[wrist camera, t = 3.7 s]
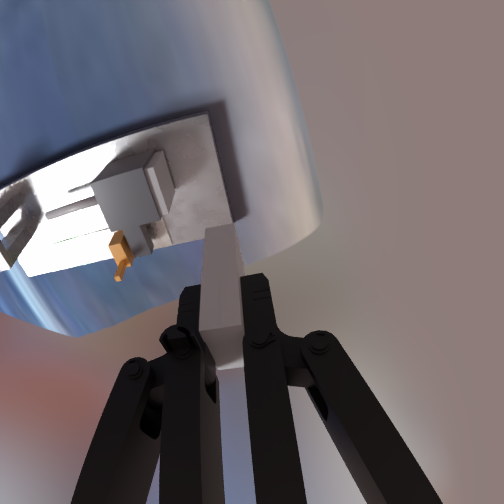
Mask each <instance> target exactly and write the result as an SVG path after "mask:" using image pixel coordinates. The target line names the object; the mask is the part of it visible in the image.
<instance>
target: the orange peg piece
mask: <svg viewBox="0 0 504 504" xmlns="http://www.w3.org/2000/svg"><path fill="white" fill-rule="evenodd" d="M108 248H109V250H110V252H111V254H112V256H113V258H114V259H115V261H116V263H117V265H118V268H117V271H116V273H115V276H114V278H115V280H116V281H122V278H123V275H124V272H125V269H126V267H129V266H131V265H132V262H133V259H134V255H133V253H132V251H131V249H130V247H129V244H128V242H127V240H126V238H125V236H124V234H123V231H122V230H121V231H117V232H114V234H113V236H112V238H111V240H110V243H109V245H108Z"/></svg>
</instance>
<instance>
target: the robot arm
mask: <svg viewBox="0 0 504 504" xmlns="http://www.w3.org/2000/svg"><path fill="white" fill-rule="evenodd" d="M159 341H160V342H161V344H162V345H163V347H164V349H165V350H166V352H167V353H166V354H165V355H163V356H161V357H159V358H156V359H154V360H151V361H149V362H147V360H146V359H144V358H141V357H135V358H132V359H129V360H128V361H127V362H126V363H125V364H124V365H123V366H122V368H121V370H120V372H119V374H118V377H117V379H116V382H115V384H114V386H113V389H112V391H111V393H110V396H109V398H108V401H107V403H106V406H105V408H104V411H103V413H102V416H101V418H100V421H99V423H98V426H97V429H96V431H95V434H94V437H93V439H92V442H91V445H90V447H89V450H88V453H87V456H86V458H85V461H84V464H83V467H82V470H81V473H80V476H79V479H78V482H77V485H76V489H75V491H74V495H73V498H72V501H71V504H146V500H147V496H148V493H149V490H150V486H151V483H152V479H153V476H154V472H155V469H156V465H157V462H158V458H159V455H160V475H159V504H225V495H224V480H223V465H222V447H221V428H220V401H219V381H218V378H217V376H216V368H215V364H216V366H217V368H218V370H222V369H229V368H237V367H244V371H245V372H244V373H245V384H246V396H247V408H248V420H249V431H250V441H251V453H252V463H253V473H254V483H255V494H256V503H257V504H307V501H306V494H305V488H304V482H303V476H302V469H301V463H300V457H299V451H298V445H297V440H296V433H295V428H294V422H293V415H292V409H291V404H290V398H289V392H288V387H287V385H289V386H297V387H305V389H306V391H307V393H308V395H309V397H310V399H311V401H312V402H313V404H314V406H315V408H316V410H317V412H318V414H319V416H320V418H321V419H322V421H323V423H324V425H325V427H326V429H327V431H328V433H329V434H330V436H331V438H332V440H333V442H334V444H335V445H336V447H337V449H338V451H339V453H340V455H341V457H342V459H343V460H344V462H345V464H346V466H347V468H348V470H349V471H350V473H351V475H352V477H353V479H354V481H355V482H356V484H357V486H358V488H359V489H360V492H361V493H362V495H363V497H364V499H365V501H366V502H367V504H443V503H442V502H441V500H440V498H439V496H438V495H437V493H436V491H435V490H434V488H433V487H432V485H431V483H430V482H429V480H428V478H427V477H426V475H425V474H424V472H423V471H422V469H421V467H420V466H419V464H418V462H417V461H416V459H415V458H414V456H413V454H412V453H411V451H410V450H409V448H408V447H407V445H406V443H405V442H404V440H403V439H402V437H401V436H400V434H399V432H398V431H397V430H396V428H395V426H394V425H393V423H392V422H391V420H390V419H389V417H388V415H387V414H386V412H385V411H384V409H383V408H382V406H381V405H380V403H379V401H378V400H377V399H376V397H375V395H374V394H373V392H372V391H371V390H370V388H369V386H368V385H367V383H366V382H365V380H364V379H363V377H362V376H361V374H360V373H359V371H358V370H357V368H356V367H355V365H354V364H353V362H352V361H351V359H350V358H349V356H348V355H347V353H346V352H345V350H344V349H343V347H342V346H341V344H340V343H339V341H338V340H337V338H336V337H335V336H334V335H333V334H332V333H329V332H327V331H320V330H318V331H314V332H311V333H309V334H307V335H306V336H305V337H304V338H299V337H291V336H288V335H286V334H284V333H283V332H281V331H280V330H279V328H278V327H277V324H276V319H275V314H274V308H273V303H272V297H271V292H270V287H269V281H268V279H267V278H266V277H265V276H264V274H263V273H259V274H253V275H247V276H245V273H244V263H243V259H242V255H241V251H240V246H239V242H238V238H237V234H236V229H235V225H234V223H231V224H226V225H221V226H216V227H211V228H206V229H205V238H204V251H203V265H202V280H201V284H200V285H195V286H189V287H185V288H184V290H183V291H182V293H181V295H180V299H179V307H178V315H177V324H176V325H173V326H170V327H169V328H167V329H165V331H164V332H163V333H162V334H161V336H160V339H159Z"/></svg>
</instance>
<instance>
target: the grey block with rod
mask: <svg viewBox="0 0 504 504" xmlns="http://www.w3.org/2000/svg"><path fill="white" fill-rule="evenodd" d="M90 186H91V188H92V191H93V193H94V195H93V196H90V197H87V198H84V199H81V200H78V201H75V202H72V203H69V204H66V205H64V206H61V207H58V208H55V209H52V210H50V211H47V212H46V213H45V217H46V219H47V220H48V221H50V220H53V219H55V218H58V217H61V216H64V215H67V214H70V213H73V212H77V211H80V210H83V209H86V208H89V207H92V206H96V205H99V207H100V209H101V212H102V214H103V216H104V218H105V221H106V223H107V225H108V227H109V229H110V231H111V232H115V231H119V230H122V231H123V234H124V236H125V238H126V240H127V242H128V244H129V247H130V249H131V251H132V253H133V255H134V257H135V258H136V257H141V256H146V255H150V254H152V251H153V248H154V244H153V242H152V240H151V237H150V235H149V233H148V230H147V228H146V225H145V224H147V223H152V222H156V221H160V220H161V218H162V215H165V214H169V211H170V208H171V205H172V201H173V198H174V195H175V189H174V185H173V182H172V179H171V176H170V172H169V169H168V166H167V163H166V159H165V156H164V153H163V151H159V152H155V149H152V150H149V151H145V152H142V153H138V154H135V155H132V156H128V157H125V158H122V159H119V160H116V161H113V162H110V163H108V164H107V165H106V166H105V167H104V168H103V169H102V171H101V172H100V173H99V174H98V175H97V176H96V177H95V178H94V180H93V181H92V182H91V183H90Z"/></svg>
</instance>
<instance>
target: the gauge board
mask: <svg viewBox="0 0 504 504" xmlns="http://www.w3.org/2000/svg"><path fill="white" fill-rule="evenodd" d="M152 149H155V152H159V151H163V153H164V156H165V159H166V163H167V166H168V169H169V172H170V176H171V179H172V182H173V185H174V189H175V195H174V198H173V201H172V205H171V208H170V211H169V214H165V215H162V218H161V220H160V221H156V222H152V223H147V224H145V225H146V228H147V230H148V233H149V235H150V237H151V240H152V242H153V244H154V248H153V249H157V248H162V247H167V246H172V245H175V244H180V243H185V242H190V241H195V240H200V239H204V238H205V229H206V228H211V227H216V226H221V225H226V224H231V223H234V220H233V216H232V211H231V207H230V203H229V199H228V194H227V190H226V186H225V181H224V177H223V173H222V169H221V164H220V160H219V156H218V151H217V147H216V142H215V138H214V134H213V129H212V125H211V120H210V116H209V112H208V111H203V112H199V113H195V114H191V115H186V116H182V117H179V118H175V119H171V120H167V121H164V122H160V123H157V124H153V125H150V126H147V127H143V128H140V129H137V130H134V131H131V132H128V133H125V134H122V135H119V136H116V137H113V138H110V139H107V140H104V141H102V142H99V143H96V144H94V145H91V146H88V147H86V148H83V149H81V150H78V151H76V152H73V153H71V154H69V155H66V156H64V157H61V158H59V159H57V160H55V161H52V162H50V163H48V164H46V165H44V166H41V167H39V168H37V169H35V170H33V171H31V172H29V173H27V174H25V175H23V176H21V177H19V178H17V179H15V180H13V181H11V182H9V183H8V184H6V185H4V186H2V187H0V230H1V231H2V233H3V235H4V238H3V240H2V241H1V240H0V272H1V271H4V270H8V269H11V267H12V266H13V264H14V263H15V261H16V260H17V259H18V261H19V262H20V264H21V266H22V267H23V269H24V270H25V272H26V273H27V275H28V276H29V277H30V276H34V275H39V274H43V273H47V272H52V271H57V270H61V269H65V268H70V267H75V266H79V265H84V264H88V263H92V262H96V261H101V260H106V259H110V258H113V256H112V254H111V252H110V250H109V248H108V245H109V243H110V240H111V238H112V236H113V234H114V232H111V231H110V229H109V227H108V225H107V223H106V221H105V218H104V216H103V214H102V212H101V209H100V207H99V205H96V206H92V207H89V208H86V209H83V210H80V211H77V212H73V213H70V214H67V215H64V216H61V217H58V218H55V219H53V220H50V221H48V220H47V219H46V217H45V213H46V212H47V211H50V210H52V209H55V208H58V207H61V206H64V205H66V204H69V203H72V202H75V201H78V200H81V199H84V198H87V197H90V196H93V195H94V193H93V191H92V188H91V186H90V183H91V182H92V181H93V180H94V178H95V177H96V176H97V175H98V174H99V173H100V172H101V171H102V169H103V168H104V167H105V166H106V165H107V164H108V163H110V162H113V161H116V160H119V159H122V158H125V157H128V156H132V155H135V154H138V153H142V152H145V151H149V150H152ZM119 231H121V230H119ZM115 232H117V231H115Z"/></svg>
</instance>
